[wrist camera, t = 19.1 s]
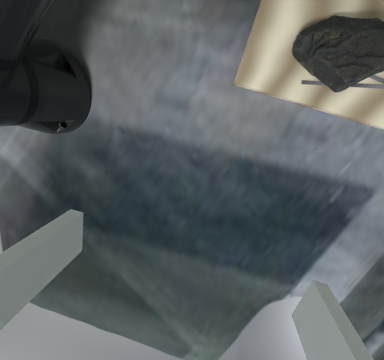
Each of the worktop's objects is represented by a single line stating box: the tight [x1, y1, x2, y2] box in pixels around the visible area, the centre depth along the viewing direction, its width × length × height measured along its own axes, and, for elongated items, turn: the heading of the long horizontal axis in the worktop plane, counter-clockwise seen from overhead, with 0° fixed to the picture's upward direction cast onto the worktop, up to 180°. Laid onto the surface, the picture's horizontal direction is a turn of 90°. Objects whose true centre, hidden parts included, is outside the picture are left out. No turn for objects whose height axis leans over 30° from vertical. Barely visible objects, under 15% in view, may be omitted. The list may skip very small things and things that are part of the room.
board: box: [234, 0, 384, 130], centre depth 27 cm, size 26×14×2 cm, turn 73°
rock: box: [292, 15, 384, 92], centre depth 24 cm, size 10×6×10 cm
